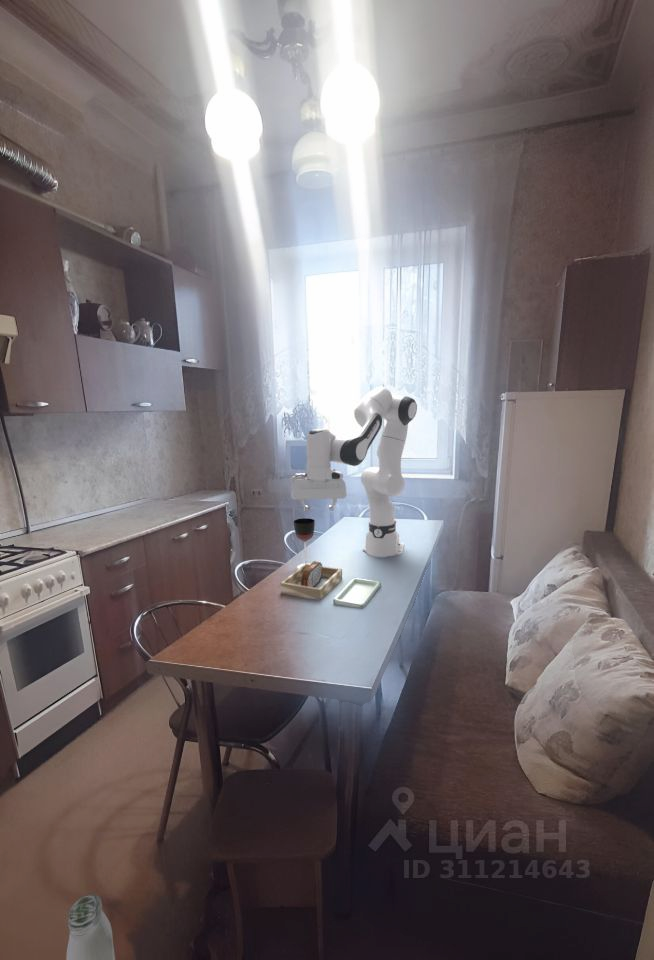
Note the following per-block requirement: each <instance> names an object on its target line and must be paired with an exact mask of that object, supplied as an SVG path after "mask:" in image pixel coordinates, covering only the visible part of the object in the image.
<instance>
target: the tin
mask: <svg viewBox="0 0 654 960" xmlns="http://www.w3.org/2000/svg"><path fill="white" fill-rule="evenodd" d="M309 564H310V565H309V566H308V567H307V568H305V570H304V572H303V574H302V578H301V580H300V585H302V586H308V587H314V588H315V587H316V585H317V584H319V582H321V579H322V577H321V576H322V566H323V564H322V563H321V562H319V561H316V560H314V561H312V562H311V563H309Z"/></svg>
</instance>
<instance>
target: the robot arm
mask: <svg viewBox="0 0 654 960" xmlns="http://www.w3.org/2000/svg"><path fill="white" fill-rule="evenodd" d="M417 411H418V405H417V402H416V400H415V399H414V398H412V397H410V396H406V395H405V396H404V395H401V394H395V393H392V392H391V391H390V390H389V389H387V388H386V387H384V386H378V387H375V388H374V389H373V390H371V391H370V392H368V393H367V394H366V395H365V396H364V397H363V398H362V399H360V401H359V402H358V403H357V405H356V406H355V408H354V411H353V413H354V415H353V416H354V419H355V421H356V422H357V424H358V425H359V427H361V430H360V431H359V433H358V434H357V435H355V436H352V437H344V436H337V435H335V434H333V433H332V432H330V430H329V428H327V427H319V428H313V429H311V430H309V431H308V433H307V437H306V447H305V450H306V452H305V453H306V456H307V457H306V458H307V461H306V468H305V469H306V473H294V474H292V475H291V476H290V477H289V484H290V486H291V490H290V497H291V499H292V500H300V504H301V505H302V507H303V512H309V506H308V505H306V504H305V501H306V500H329V499H331V500H332V503H331V504H329V505H328V506H329V508H328V510H329V512H331V511H334V510H335V505H336V504H337V501H338V500H337V499H339V500H340V499H343V500H344V499H345V498H346V497H347V485H346V482H345V480H344V474H343V472H342V471H340V470H337V469H335V468H332V467H331V466H332V464H331V463H337V464H345V465H348V466H353V467H356V466H359V465H361V464H362V462H363V461H364V460H365V459H366V457H367V453H368V451H369V448H370V447H371V446H372V444H373V442H374V440H375V439H376V437H377V436H378V433H379V432H380V430H381V428H382V426H383V420H386V421H385V423H384V426H383V428H382V431H381V435H380V439H379V442H378V446H377V450H376V455H377V457H378V467H377V466H371V467H367V468H365V469H364V470H362V472H361V476H360V481H361V484H362V486H363V487H364V490H365V492H366V493H365V494H366V497H367V500H368V506H369V522H368V532H367V533H366V534H365V546H364V547H363V548H362V551H363V552H365V553H366V554H367V555H369V556H371V557H374V558H375V557H376V558H388V556H389V557H393V556H398V555H403V553H404V548H405V543H404V542H402V541H400V533H399V532H397V529H396V524H397V521H396V520H395V505H394V503H393V502H392V500H391V496H392V497H395V496H399V495H400V494H401V493H402V492H403V490H404V489H405V479H404V477H403V475H402V466H401V465H402V463H401V462H402V455H403V451H404V447H405V445H406V441H407V438H408V437H407V436H408V429H409V423H410V422H412V421H413V419H414V418H415V417H416V415H417Z"/></svg>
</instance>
